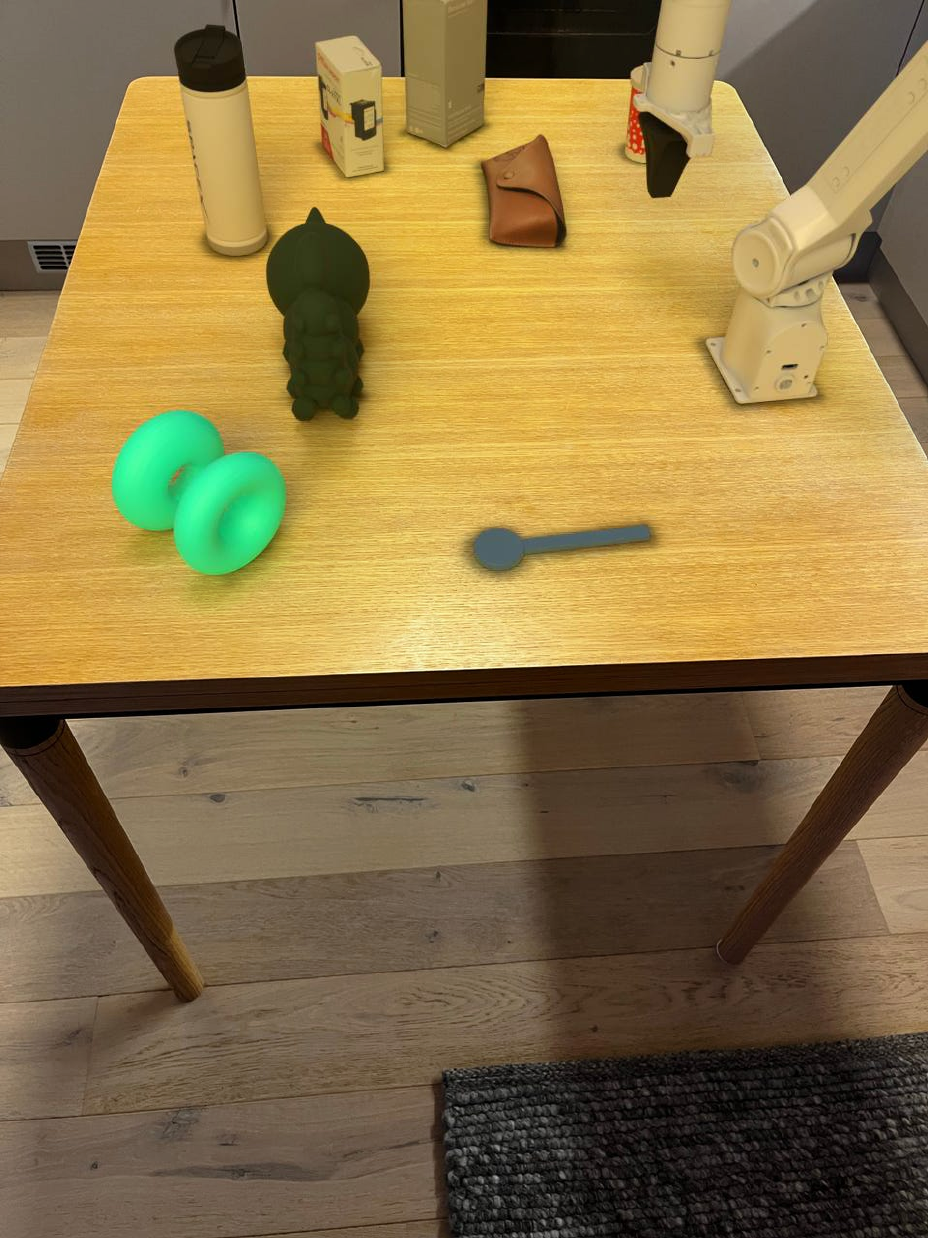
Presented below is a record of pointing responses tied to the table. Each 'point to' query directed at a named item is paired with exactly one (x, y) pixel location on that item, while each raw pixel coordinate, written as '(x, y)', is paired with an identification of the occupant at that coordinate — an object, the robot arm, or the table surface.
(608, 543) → the spoon
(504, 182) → the sunglasses case
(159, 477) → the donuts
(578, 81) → the table surface
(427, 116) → the cosmetic box
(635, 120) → the beverage cup
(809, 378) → the robot arm
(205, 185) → the travel mug
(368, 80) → the ink box
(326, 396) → the toy figurine
